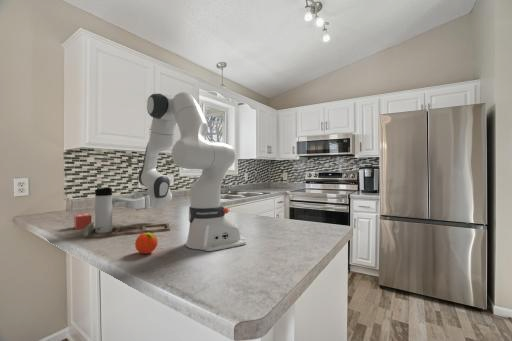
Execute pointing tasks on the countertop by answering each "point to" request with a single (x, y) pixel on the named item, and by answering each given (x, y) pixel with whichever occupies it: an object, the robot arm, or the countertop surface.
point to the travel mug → (103, 211)
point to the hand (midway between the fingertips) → (109, 204)
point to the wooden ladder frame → (90, 229)
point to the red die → (81, 221)
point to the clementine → (146, 242)
